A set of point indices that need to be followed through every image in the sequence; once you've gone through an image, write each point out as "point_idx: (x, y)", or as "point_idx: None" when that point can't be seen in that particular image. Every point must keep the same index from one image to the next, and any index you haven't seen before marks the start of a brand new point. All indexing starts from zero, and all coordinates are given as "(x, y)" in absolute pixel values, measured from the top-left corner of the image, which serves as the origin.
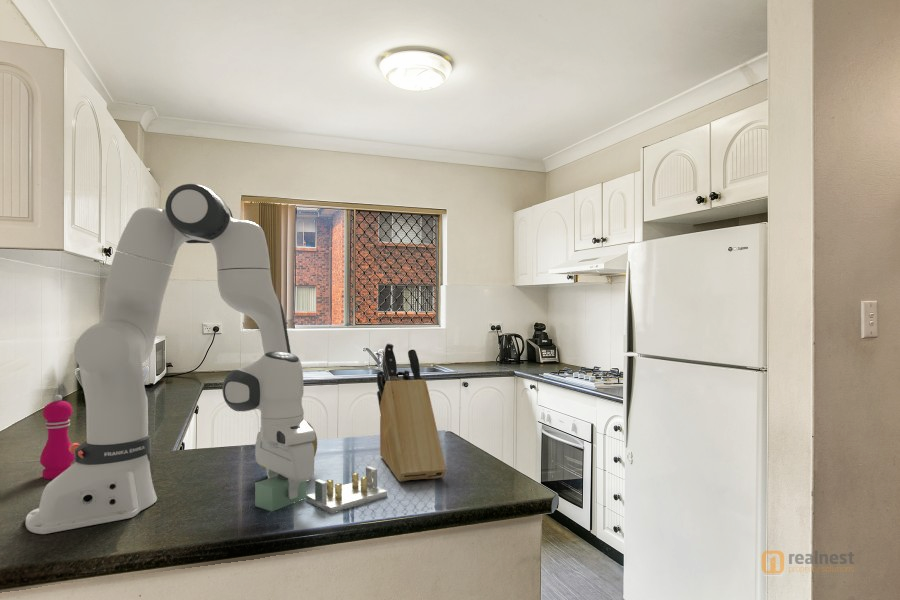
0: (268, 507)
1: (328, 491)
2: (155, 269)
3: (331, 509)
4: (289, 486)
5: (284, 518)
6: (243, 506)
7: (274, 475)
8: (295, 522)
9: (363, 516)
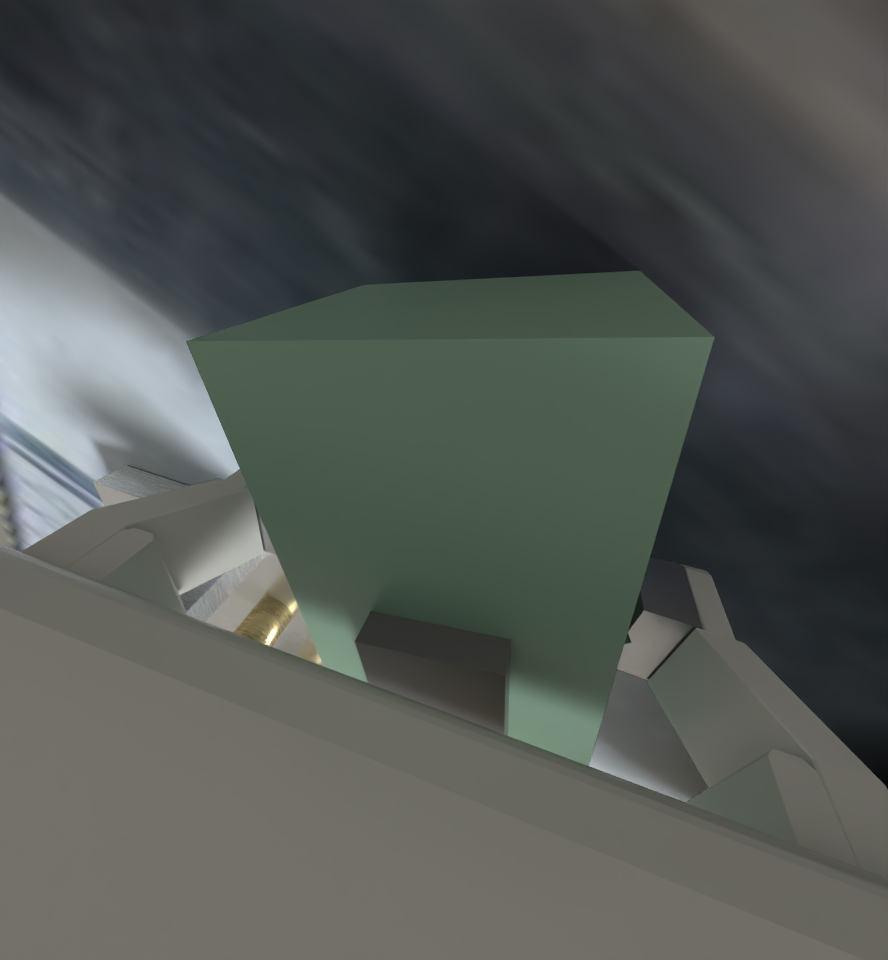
0: (402, 285)
1: (249, 617)
2: None
3: (106, 480)
4: (174, 503)
5: (169, 250)
6: (800, 146)
7: (698, 718)
8: (69, 254)
9: (54, 503)
